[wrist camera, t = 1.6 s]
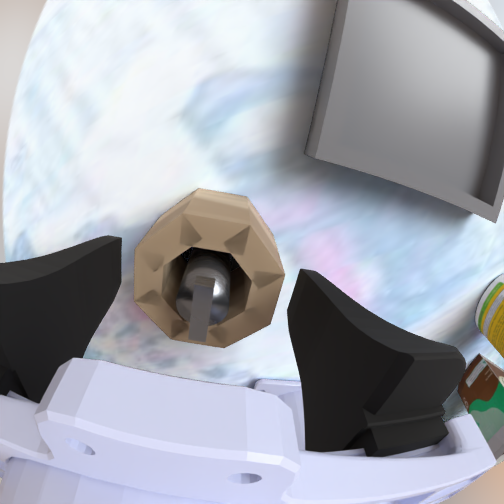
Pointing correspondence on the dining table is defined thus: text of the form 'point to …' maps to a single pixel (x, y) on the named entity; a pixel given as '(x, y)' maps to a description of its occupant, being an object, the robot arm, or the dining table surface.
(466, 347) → the dining table surface
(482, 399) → the food container
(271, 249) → the ring
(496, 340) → the supplement bottle
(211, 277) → the stake
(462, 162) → the tray
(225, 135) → the dining table surface
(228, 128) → the dining table surface
